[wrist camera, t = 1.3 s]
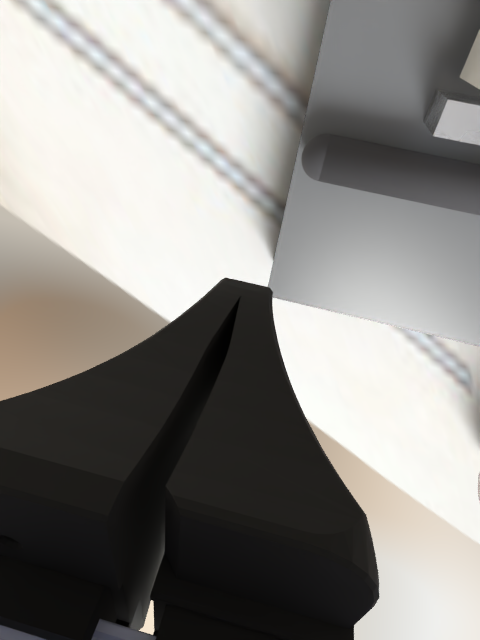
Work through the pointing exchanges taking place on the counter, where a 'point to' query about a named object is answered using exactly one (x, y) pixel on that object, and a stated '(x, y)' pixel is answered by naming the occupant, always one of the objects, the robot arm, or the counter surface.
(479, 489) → the donut
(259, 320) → the robot arm
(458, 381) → the counter surface
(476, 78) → the lever
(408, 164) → the box
